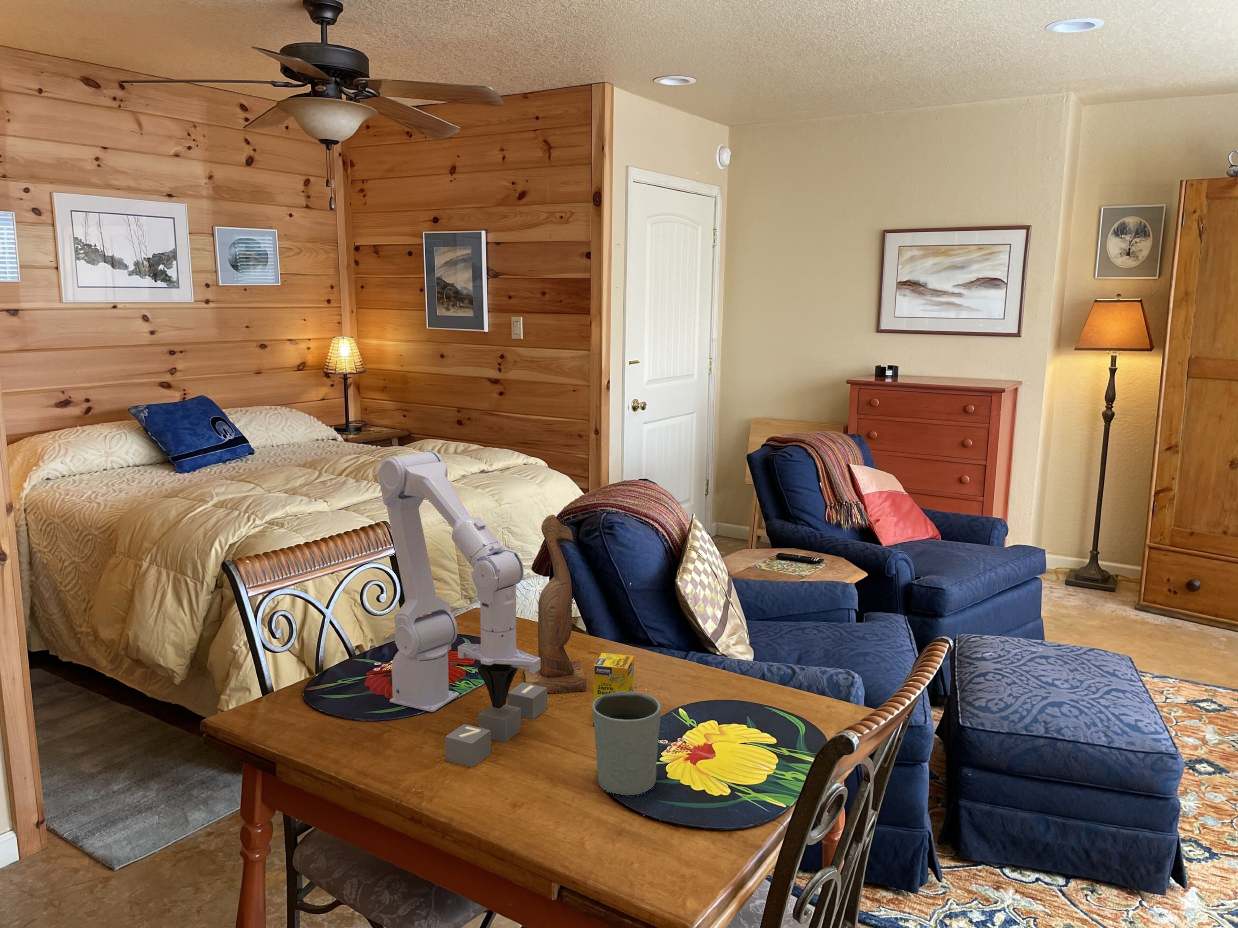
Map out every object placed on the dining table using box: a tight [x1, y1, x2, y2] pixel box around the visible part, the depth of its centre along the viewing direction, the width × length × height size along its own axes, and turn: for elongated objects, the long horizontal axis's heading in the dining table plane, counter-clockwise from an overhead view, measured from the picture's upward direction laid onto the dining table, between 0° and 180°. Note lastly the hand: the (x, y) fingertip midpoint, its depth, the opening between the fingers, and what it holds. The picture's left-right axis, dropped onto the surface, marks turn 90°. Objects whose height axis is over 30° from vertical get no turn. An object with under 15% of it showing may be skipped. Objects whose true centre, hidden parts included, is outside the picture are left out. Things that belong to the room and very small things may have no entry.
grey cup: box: [591, 691, 662, 795], centre depth 135 cm, size 10×10×12 cm
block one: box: [506, 682, 548, 721], centre depth 158 cm, size 5×5×4 cm
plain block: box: [478, 703, 522, 743], centre depth 150 cm, size 5×5×4 cm
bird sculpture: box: [522, 514, 587, 695], centre depth 169 cm, size 11×12×32 cm
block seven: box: [444, 723, 492, 768], centre depth 142 cm, size 5×5×4 cm
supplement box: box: [592, 652, 635, 728], centre depth 154 cm, size 6×6×11 cm
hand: (499, 705), depth 150 cm, fingers closed
